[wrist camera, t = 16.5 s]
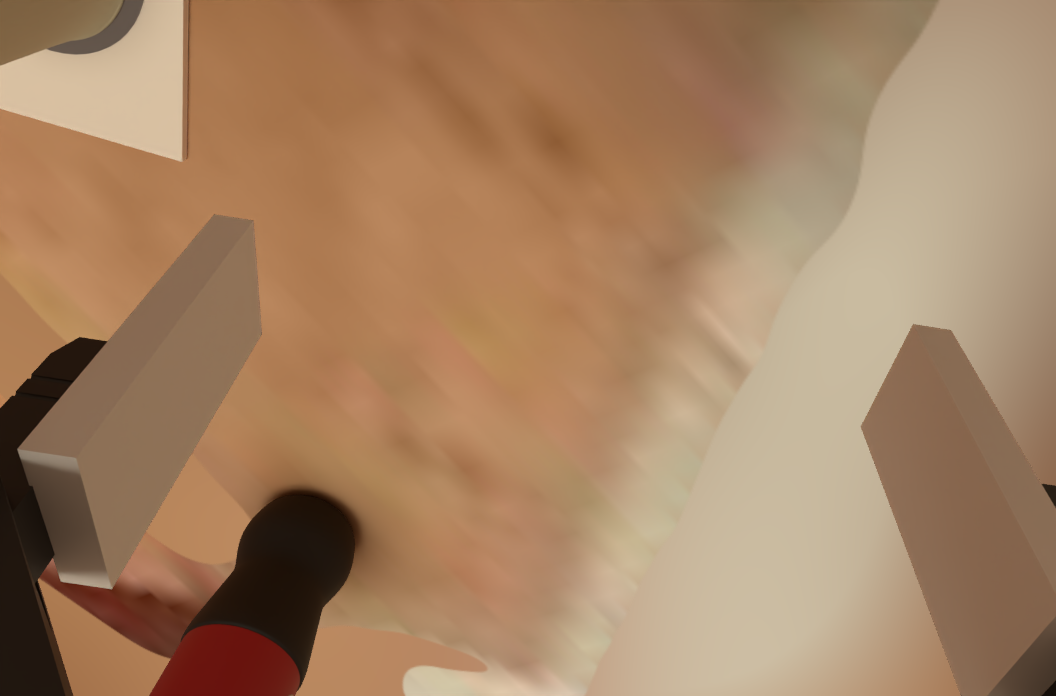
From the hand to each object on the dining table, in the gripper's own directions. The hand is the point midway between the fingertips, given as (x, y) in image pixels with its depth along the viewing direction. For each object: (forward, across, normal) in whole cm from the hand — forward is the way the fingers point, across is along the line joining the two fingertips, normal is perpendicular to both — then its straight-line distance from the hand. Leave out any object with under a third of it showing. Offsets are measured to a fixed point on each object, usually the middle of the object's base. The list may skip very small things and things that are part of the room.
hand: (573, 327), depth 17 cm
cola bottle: (+29, -15, -42) cm, 53 cm away
